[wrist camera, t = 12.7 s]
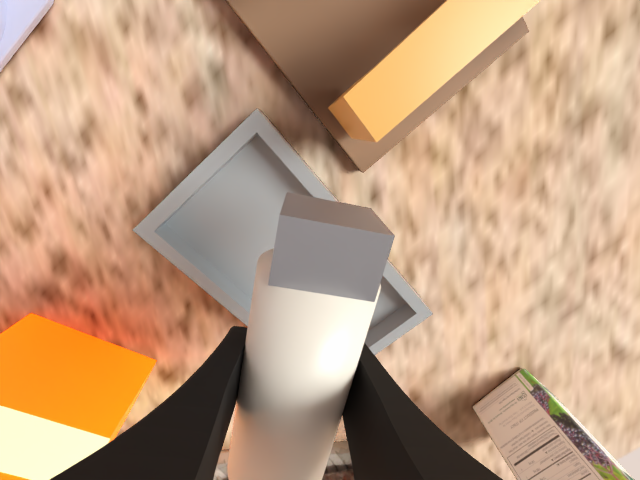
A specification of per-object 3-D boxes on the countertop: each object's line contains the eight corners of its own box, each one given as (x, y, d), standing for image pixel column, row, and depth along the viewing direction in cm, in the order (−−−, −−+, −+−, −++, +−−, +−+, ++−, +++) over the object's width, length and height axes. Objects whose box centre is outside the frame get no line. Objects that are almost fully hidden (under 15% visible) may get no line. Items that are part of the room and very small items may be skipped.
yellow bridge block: (327, 107, 15) (342, 96, 10) (488, -42, 14) (603, -144, 9) (351, 138, 16) (376, 142, 11) (508, -1, 14) (625, -74, 9)
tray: (149, 219, 18) (132, 230, 16) (261, 110, 17) (256, 108, 15) (322, 370, 23) (324, 390, 22) (421, 298, 22) (432, 313, 20)
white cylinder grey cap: (273, 186, 11) (256, 216, 7) (381, 207, 11) (420, 246, 7) (238, 412, 14) (214, 514, 10) (321, 422, 15) (326, 522, 11)
